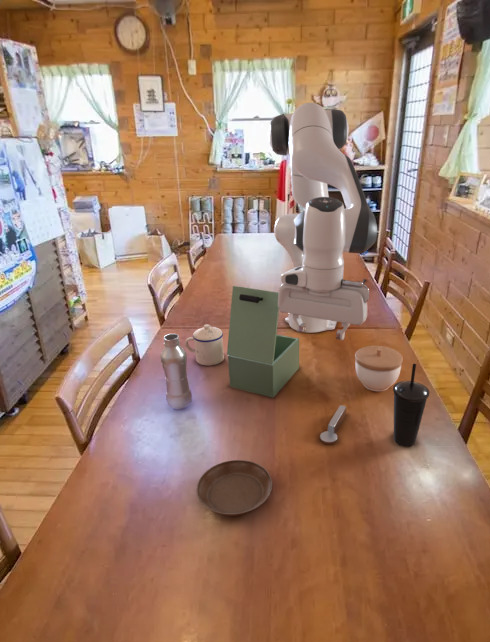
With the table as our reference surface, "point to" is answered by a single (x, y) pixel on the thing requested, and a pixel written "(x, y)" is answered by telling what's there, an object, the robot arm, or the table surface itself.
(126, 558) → the table surface
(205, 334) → the teacup with lid
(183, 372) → the silver metal bottle
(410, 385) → the drinking cup
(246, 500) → the saucer
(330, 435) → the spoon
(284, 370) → the bin
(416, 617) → the table surface
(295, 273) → the robot arm
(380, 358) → the lidded bowl
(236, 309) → the bin lid
